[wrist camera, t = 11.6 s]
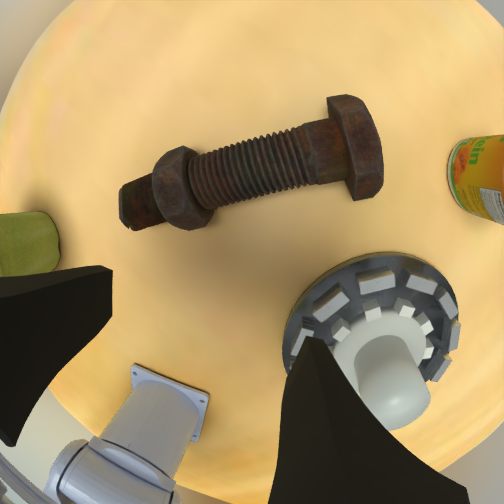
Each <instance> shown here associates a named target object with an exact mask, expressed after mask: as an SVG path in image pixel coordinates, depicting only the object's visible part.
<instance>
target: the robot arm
mask: <svg viewBox="0 0 504 504" xmlns="http://www.w3.org/2000/svg"><path fill="white" fill-rule="evenodd" d="M112 277H113V270H111V269H108V268H106V267H104V266H101V265H95V266H85V267H78V268H72V269H65V270H59V271H53V272H47V273H39V274H32V275H23V276H8V277H0V439H1V440H2V441H3V442H4V443H5V445H6V446H9V447H14V446H16V443H17V440H18V438H19V435H20V433H21V431H22V428H23V426H24V424H25V422H26V420H27V418H28V416H29V415H30V413H31V411H32V409H33V408H34V406H35V404H36V402H37V401H38V400H39V398H40V397H41V395H42V394H43V392H44V390H45V389H46V388H47V386H48V385H49V384H50V382H51V381H52V380H53V379H54V377H55V376H56V375H57V373H58V372H59V371H60V370H61V369H62V368H63V367H64V366H65V365H66V364H67V363H68V362H69V361H70V360H71V359H72V358H73V357H74V356H75V355H76V354H77V353H79V352H80V351H81V350H82V349H83V348H84V347H85V346H86V345H87V344H88V343H89V342H90V341H91V340H92V339H93V338H94V337H95V336H96V335H97V334H98V333H99V332H100V331H101V330H102V328H103V327H104V326H105V325H106V323H107V322H108V321H109V319H110V318H111V317H112ZM131 381H132V392H131V394H130V395H129V396H128V398H127V399H126V400H125V402H124V403H123V405H122V406H121V407H120V409H119V410H118V411H117V413H116V414H115V416H114V417H113V418H112V420H111V421H110V422H109V424H108V425H107V427H106V428H105V429H104V431H103V432H102V434H101V435H100V436H99V438H98V437H96V436H94V437H93V438H92V439H91V441H90V442H88V441H87V440H85V439H80V440H74V441H72V442H70V443H69V444H68V445H67V446H66V447H65V448H64V449H63V450H62V451H61V453H60V454H59V455H58V457H57V458H56V460H55V462H54V463H53V465H52V467H51V470H50V473H49V479H48V482H47V484H46V486H45V488H44V490H43V492H42V491H41V490H40V489H38V488H37V487H36V486H35V485H34V484H32V483H31V482H30V481H29V480H28V479H27V478H25V477H24V476H23V475H22V474H21V473H20V472H19V471H18V470H17V469H16V468H15V467H14V466H13V465H12V464H10V462H9V461H8V460H7V459H6V458H5V457H4V456H3V455H2V454H1V453H0V477H1V478H2V479H3V480H4V481H5V482H6V483H7V484H8V485H9V486H10V487H11V488H12V489H13V490H14V491H15V492H16V493H17V494H18V495H19V496H20V497H21V498H22V499H24V500H25V501H26V502H27V503H28V504H183V500H182V498H181V496H180V493H179V492H177V491H175V490H173V488H174V486H175V484H176V481H175V480H173V478H174V476H175V474H176V471H177V469H178V467H179V465H180V462H181V460H182V458H183V455H184V453H185V451H186V448H187V446H188V444H189V442H190V441H193V442H198V440H199V436H200V432H201V428H202V424H203V420H204V416H205V412H206V408H207V404H208V400H209V395H208V394H207V393H205V392H202V391H199V390H196V389H193V388H191V387H188V386H185V385H183V384H180V383H178V382H175V381H173V380H170V379H168V378H165V377H163V376H161V375H158V374H156V373H154V372H151V371H149V370H147V369H145V368H142V367H140V366H138V365H136V364H133V365H132V366H131ZM6 492H7V488H6V486H5V485H4V484H3V483H2V482H1V480H0V504H14V503H13V502H12V501H11V500H10V499H9V498H7V497H6V496H5V495H4V494H5V493H6ZM268 504H470V502H469V497H468V493H467V489H466V487H464V486H462V485H460V484H458V483H456V482H455V481H453V480H451V479H449V478H447V477H445V476H443V475H442V474H440V473H438V472H437V471H435V470H434V469H432V468H431V467H430V466H428V465H427V464H425V463H424V462H423V461H421V460H420V459H419V458H417V457H416V456H415V455H414V454H412V453H411V452H410V451H409V450H408V449H406V448H405V447H404V446H403V445H402V444H401V443H400V442H399V441H398V440H397V439H396V438H394V437H393V436H392V435H391V434H390V433H389V431H388V430H387V429H386V428H385V427H384V426H383V425H382V424H381V423H380V422H379V420H378V419H377V418H376V417H375V416H374V415H373V414H372V412H371V411H370V410H369V409H368V407H367V406H366V405H365V403H364V402H363V401H362V399H361V398H360V397H359V395H358V394H357V393H356V391H355V390H354V388H353V387H352V385H351V384H350V382H349V381H348V379H347V378H346V376H345V374H344V373H343V371H342V370H341V368H340V366H339V365H338V363H337V361H336V360H335V358H334V356H333V355H332V353H331V351H330V350H329V348H328V346H327V345H326V343H325V342H324V340H323V339H319V338H315V337H311V336H307V335H306V336H305V339H304V341H303V343H302V346H301V348H300V350H299V352H298V354H297V357H296V359H295V361H294V363H293V365H292V367H291V370H290V372H289V374H288V376H287V378H286V383H285V388H284V393H283V399H282V406H281V421H280V436H279V449H278V459H277V466H276V471H275V476H274V480H273V485H272V489H271V493H270V497H269V501H268Z"/></svg>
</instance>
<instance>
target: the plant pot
mask: <svg viewBox="0 0 504 504" xmlns="http://www.w3.org/2000/svg"><path fill="white" fill-rule="evenodd" d="M58 242H59V236H58V233H57V230H56V227H55V225H54V223H53V221H52V220H51V218H50V217H49V216H48V215H47V214H45V213H43V212H39V211H34V212H22V213H9V214H0V277H8V276H23V275H32V274H39V273H47V272H50V271H52V270H53V269H54V268H55V267H56V266H57V264H58V262H59V258H60V252H59V249H58Z"/></svg>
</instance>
